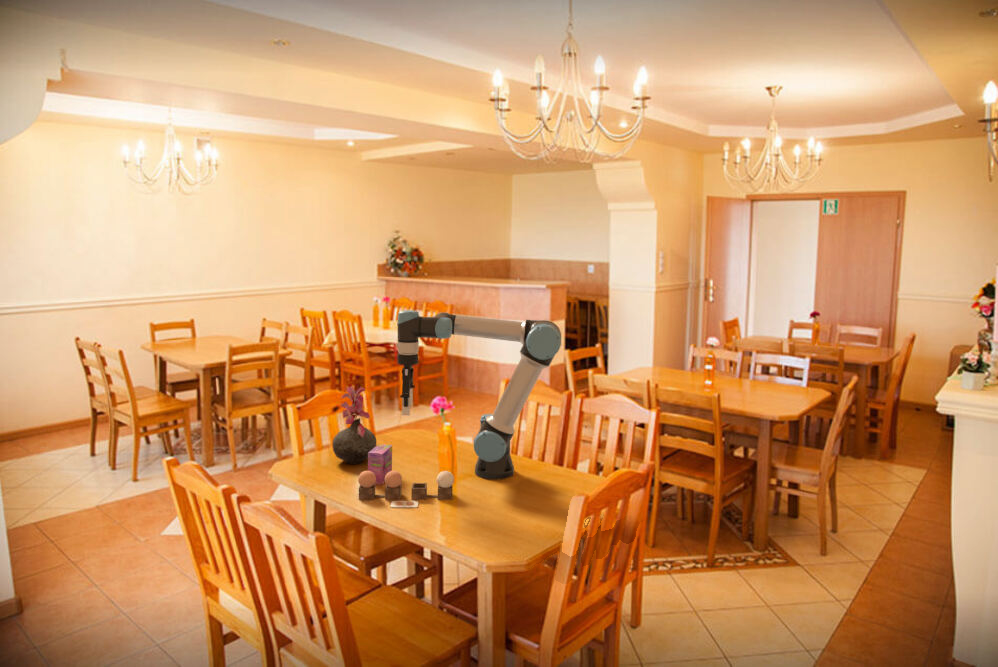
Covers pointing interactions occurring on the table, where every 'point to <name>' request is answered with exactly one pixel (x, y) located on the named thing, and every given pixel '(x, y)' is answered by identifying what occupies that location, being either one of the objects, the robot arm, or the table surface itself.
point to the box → (380, 461)
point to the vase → (354, 432)
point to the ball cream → (445, 479)
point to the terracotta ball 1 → (367, 479)
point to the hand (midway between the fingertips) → (407, 410)
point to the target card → (404, 504)
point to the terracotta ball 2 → (393, 479)
